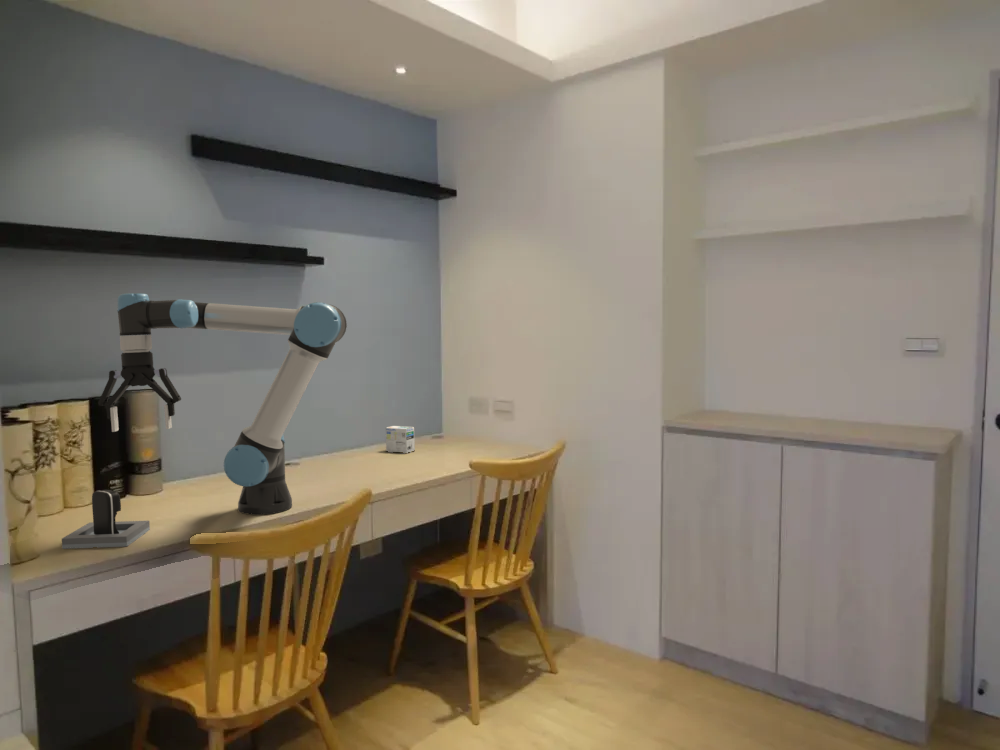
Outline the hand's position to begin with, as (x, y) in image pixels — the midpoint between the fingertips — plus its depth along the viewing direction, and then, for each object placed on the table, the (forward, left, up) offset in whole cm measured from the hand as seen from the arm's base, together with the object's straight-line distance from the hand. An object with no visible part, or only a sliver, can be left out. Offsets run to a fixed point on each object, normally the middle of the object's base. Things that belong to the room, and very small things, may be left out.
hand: (142, 429), depth 188 cm
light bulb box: (-65, -102, -26) cm, 123 cm away
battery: (+4, +13, -25) cm, 29 cm away
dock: (+4, +13, -26) cm, 29 cm away
